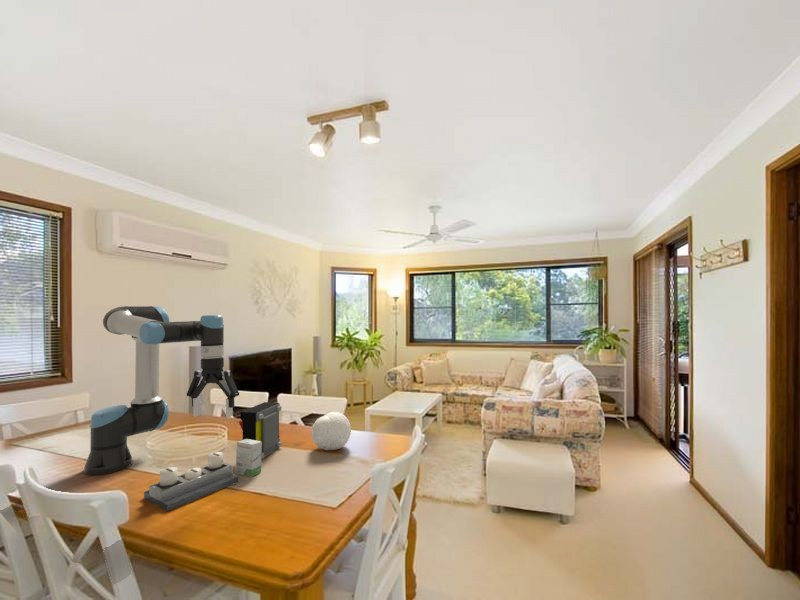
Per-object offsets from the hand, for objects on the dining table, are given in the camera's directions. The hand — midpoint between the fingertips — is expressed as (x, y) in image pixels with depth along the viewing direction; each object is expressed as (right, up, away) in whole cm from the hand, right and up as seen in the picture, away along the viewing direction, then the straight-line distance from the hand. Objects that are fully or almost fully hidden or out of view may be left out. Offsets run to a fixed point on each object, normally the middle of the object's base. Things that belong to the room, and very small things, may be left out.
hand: (213, 416), depth 137 cm
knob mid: (-4, -21, -6) cm, 22 cm away
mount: (-4, -24, -6) cm, 25 cm away
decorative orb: (+38, -24, +31) cm, 55 cm away
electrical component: (+8, -25, +27) cm, 37 cm away
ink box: (+10, -24, +8) cm, 27 cm away
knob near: (-8, -18, -12) cm, 23 cm away
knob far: (0, -18, +1) cm, 18 cm away
